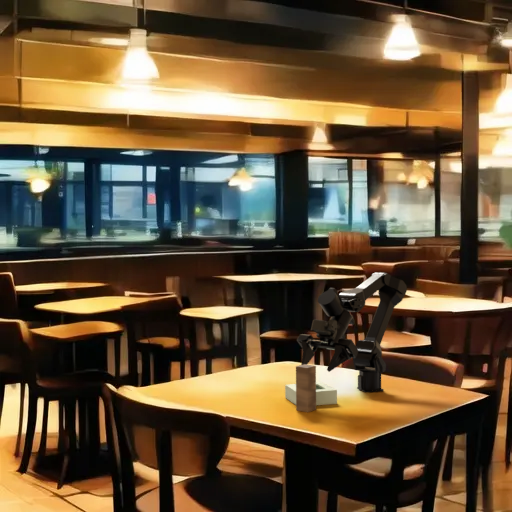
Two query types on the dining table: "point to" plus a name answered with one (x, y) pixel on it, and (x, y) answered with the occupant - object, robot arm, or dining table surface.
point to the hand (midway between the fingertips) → (315, 368)
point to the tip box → (323, 393)
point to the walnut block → (305, 388)
